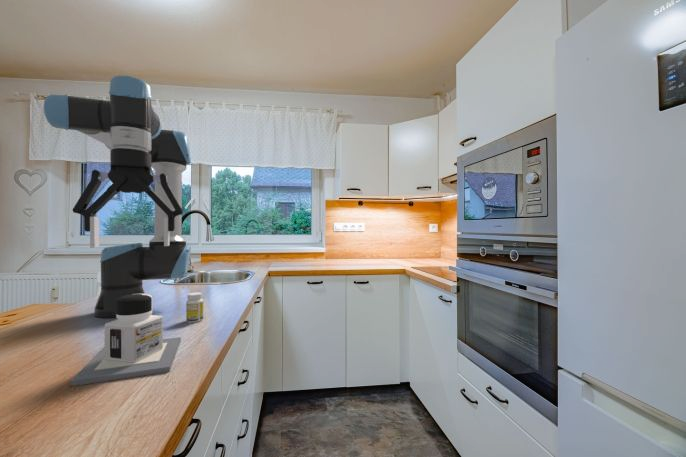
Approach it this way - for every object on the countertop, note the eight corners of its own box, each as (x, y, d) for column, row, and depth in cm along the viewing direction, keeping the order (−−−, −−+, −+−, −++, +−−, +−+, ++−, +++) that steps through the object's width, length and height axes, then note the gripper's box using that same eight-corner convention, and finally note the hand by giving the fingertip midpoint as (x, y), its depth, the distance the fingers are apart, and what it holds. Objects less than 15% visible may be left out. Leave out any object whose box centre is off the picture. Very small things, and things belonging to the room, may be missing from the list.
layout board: (104, 350, 74) (104, 345, 74) (180, 341, 80) (180, 336, 80) (70, 386, 57) (70, 379, 57) (169, 371, 63) (169, 365, 63)
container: (134, 363, 64) (134, 300, 64) (103, 360, 65) (103, 298, 65) (163, 349, 71) (163, 292, 71) (134, 346, 73) (134, 291, 73)
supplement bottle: (198, 317, 100) (198, 291, 100) (206, 320, 98) (206, 293, 98) (183, 321, 97) (183, 294, 96) (191, 323, 94) (191, 296, 94)
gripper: (51, 140, 61) (52, 249, 61) (192, 152, 70) (192, 246, 70) (68, 149, 68) (69, 246, 68) (194, 158, 77) (195, 244, 77)
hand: (132, 246), depth 69 cm, fingers open, 13 cm apart
